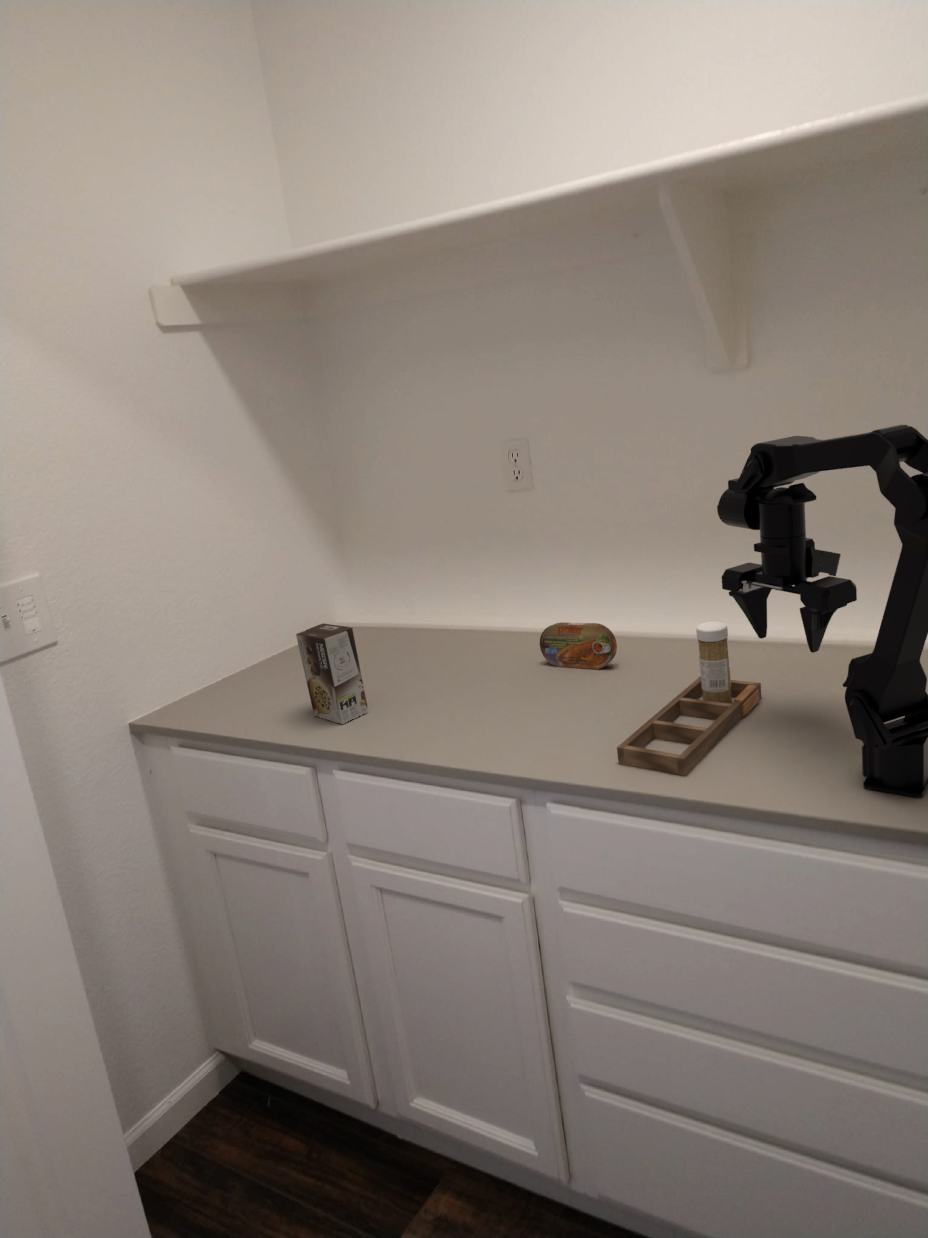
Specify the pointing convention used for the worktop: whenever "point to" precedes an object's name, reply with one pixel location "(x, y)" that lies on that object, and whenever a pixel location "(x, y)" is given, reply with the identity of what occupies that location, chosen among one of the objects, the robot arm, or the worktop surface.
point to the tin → (578, 645)
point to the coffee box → (332, 672)
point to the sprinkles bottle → (714, 662)
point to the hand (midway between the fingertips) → (787, 644)
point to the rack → (687, 728)
